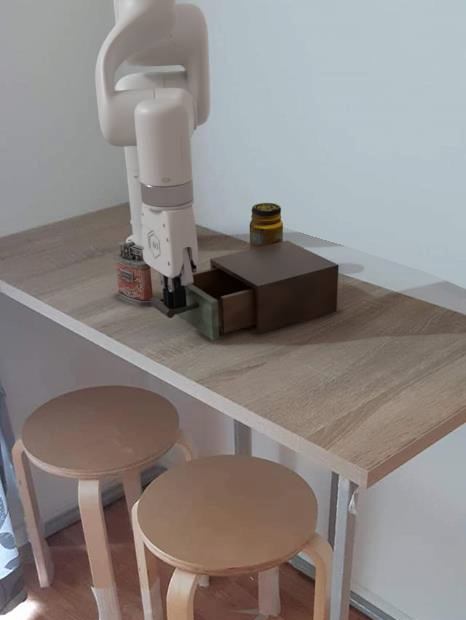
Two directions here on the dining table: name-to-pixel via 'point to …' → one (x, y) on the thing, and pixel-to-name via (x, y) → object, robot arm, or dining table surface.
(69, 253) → the dining table surface
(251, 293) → the drawer
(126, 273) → the lighter
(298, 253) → the cabinet
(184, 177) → the robot arm
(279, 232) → the condiment
